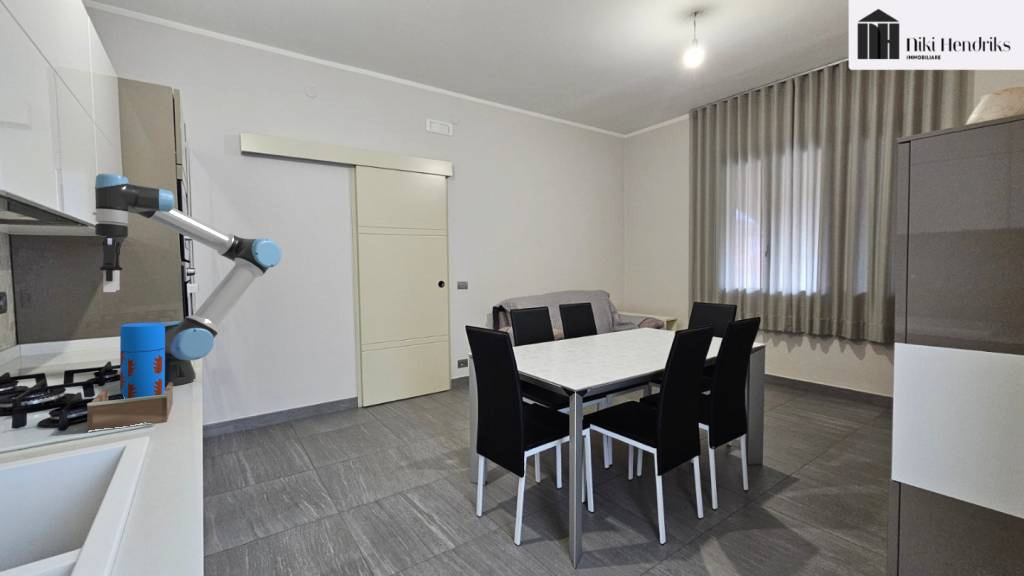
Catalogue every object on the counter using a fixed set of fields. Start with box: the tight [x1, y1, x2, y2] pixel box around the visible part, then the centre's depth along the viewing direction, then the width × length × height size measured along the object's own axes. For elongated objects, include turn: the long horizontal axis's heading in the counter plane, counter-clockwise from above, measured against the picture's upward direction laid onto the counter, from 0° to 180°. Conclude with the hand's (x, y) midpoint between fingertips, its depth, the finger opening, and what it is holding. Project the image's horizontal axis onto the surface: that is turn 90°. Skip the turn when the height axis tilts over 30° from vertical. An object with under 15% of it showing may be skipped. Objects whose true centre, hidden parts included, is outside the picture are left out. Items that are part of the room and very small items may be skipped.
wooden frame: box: [86, 382, 174, 432], centre depth 121 cm, size 19×16×8 cm
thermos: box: [119, 322, 166, 399], centre depth 135 cm, size 11×11×25 cm
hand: (111, 291), depth 134 cm, fingers open, 13 cm apart
